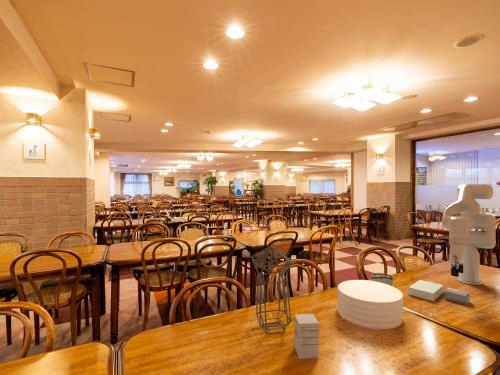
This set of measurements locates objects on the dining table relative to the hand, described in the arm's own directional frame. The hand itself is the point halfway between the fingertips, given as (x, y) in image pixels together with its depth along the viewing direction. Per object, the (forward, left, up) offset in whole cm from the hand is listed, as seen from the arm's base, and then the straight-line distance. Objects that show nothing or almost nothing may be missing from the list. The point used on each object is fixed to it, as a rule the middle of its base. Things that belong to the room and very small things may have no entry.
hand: (457, 274), depth 150 cm
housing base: (-1, 0, -14) cm, 14 cm away
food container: (+17, -32, -14) cm, 39 cm away
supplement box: (+95, -25, -14) cm, 100 cm away
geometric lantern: (+92, -45, -14) cm, 104 cm away
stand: (0, -14, -14) cm, 20 cm away
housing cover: (-1, 0, -10) cm, 10 cm away
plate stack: (+48, -24, -14) cm, 56 cm away
